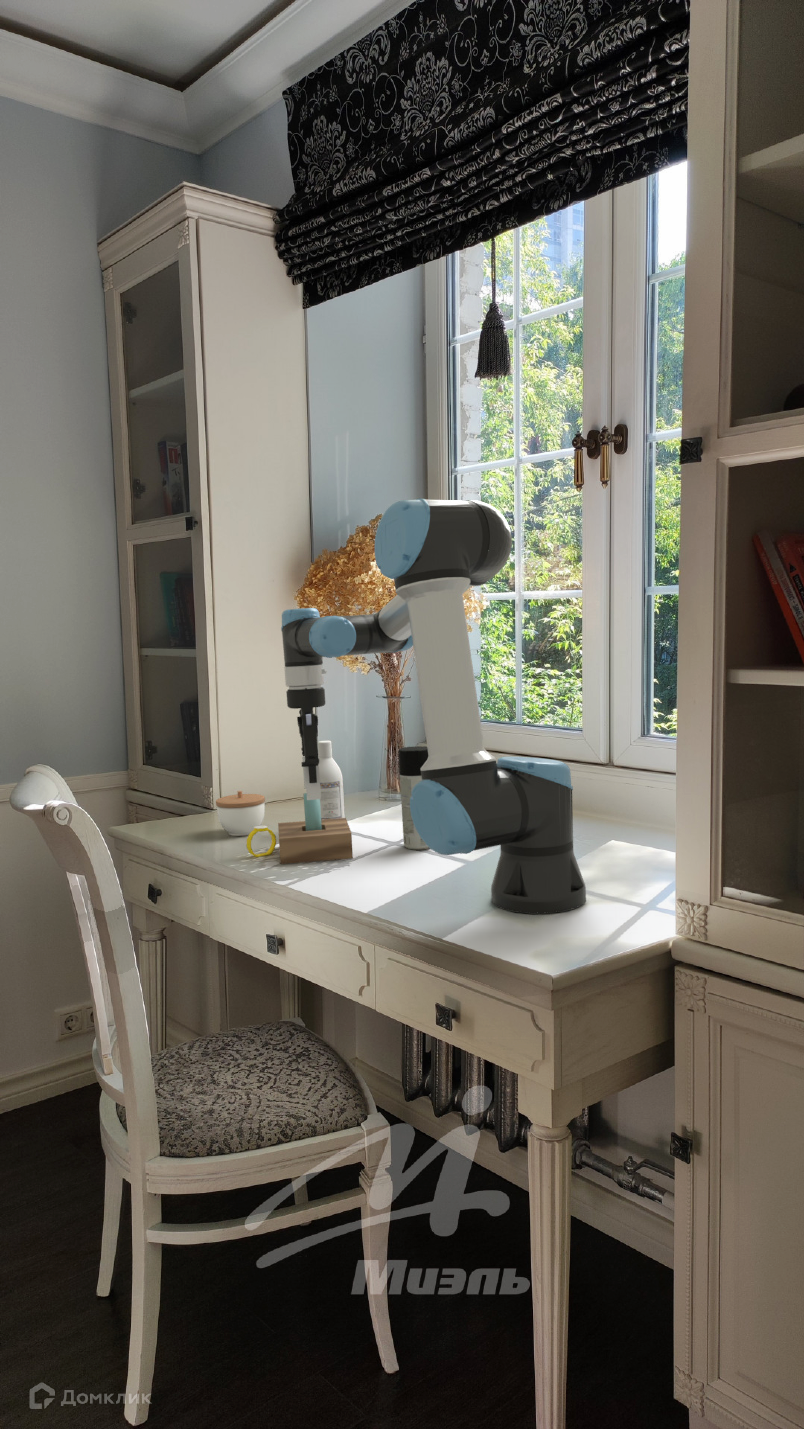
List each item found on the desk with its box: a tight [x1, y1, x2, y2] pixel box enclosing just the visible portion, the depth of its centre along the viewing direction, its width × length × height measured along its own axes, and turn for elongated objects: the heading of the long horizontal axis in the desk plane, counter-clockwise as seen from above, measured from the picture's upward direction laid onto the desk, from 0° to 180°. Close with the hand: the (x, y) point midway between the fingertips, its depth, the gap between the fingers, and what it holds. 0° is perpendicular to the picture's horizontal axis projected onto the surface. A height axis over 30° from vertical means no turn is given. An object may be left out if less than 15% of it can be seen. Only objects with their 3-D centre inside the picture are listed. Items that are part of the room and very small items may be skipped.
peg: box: [303, 792, 322, 831], centre depth 193 cm, size 3×3×12 cm
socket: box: [277, 817, 354, 865], centre depth 194 cm, size 14×14×5 cm
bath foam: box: [317, 740, 346, 820], centre depth 210 cm, size 7×7×20 cm
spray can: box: [398, 745, 431, 851], centre depth 194 cm, size 7×7×20 cm
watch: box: [246, 825, 277, 858], centre depth 194 cm, size 6×3×6 cm, turn 125°
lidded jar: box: [215, 790, 266, 837], centre depth 214 cm, size 11×11×9 cm
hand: (312, 793), depth 192 cm, fingers open, 13 cm apart
